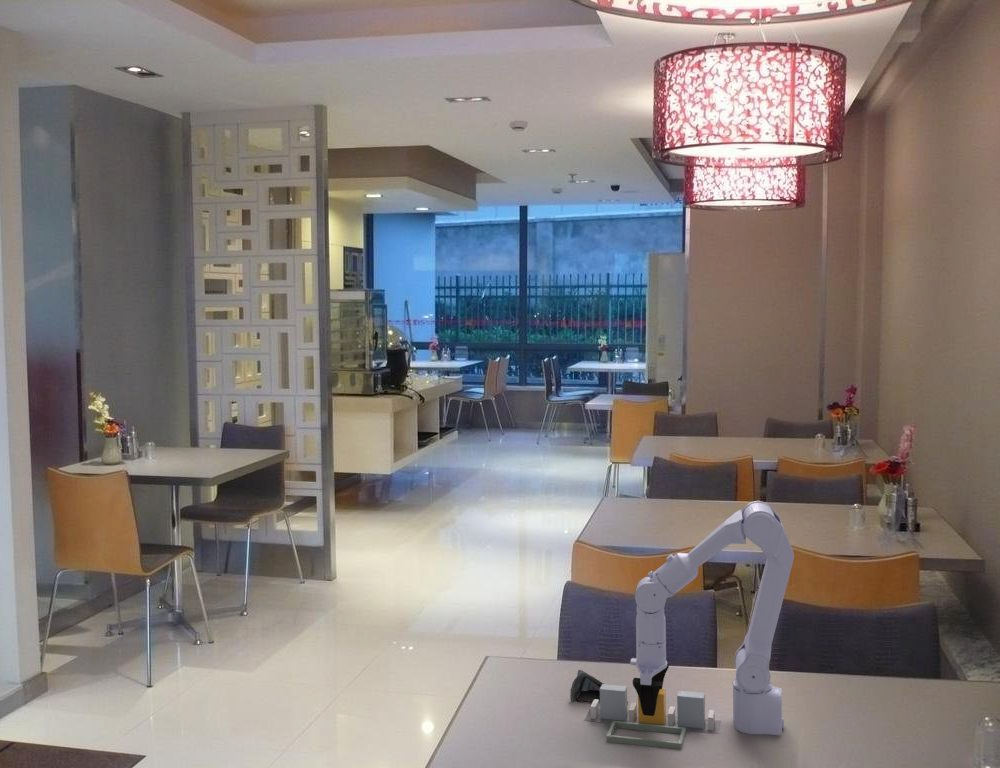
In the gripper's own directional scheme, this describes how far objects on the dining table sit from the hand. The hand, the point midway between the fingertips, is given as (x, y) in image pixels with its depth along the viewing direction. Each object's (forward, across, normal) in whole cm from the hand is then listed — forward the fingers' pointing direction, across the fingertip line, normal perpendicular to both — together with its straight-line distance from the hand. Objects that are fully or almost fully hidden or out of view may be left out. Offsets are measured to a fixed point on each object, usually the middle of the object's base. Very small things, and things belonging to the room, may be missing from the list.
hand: (651, 707), depth 199 cm
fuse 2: (+3, 0, +8) cm, 8 cm away
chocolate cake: (+4, -9, -12) cm, 16 cm away
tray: (+4, +8, 0) cm, 8 cm away
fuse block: (+4, 0, 0) cm, 4 cm away
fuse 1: (+3, 0, -8) cm, 8 cm away
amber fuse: (+3, 0, 0) cm, 3 cm away
